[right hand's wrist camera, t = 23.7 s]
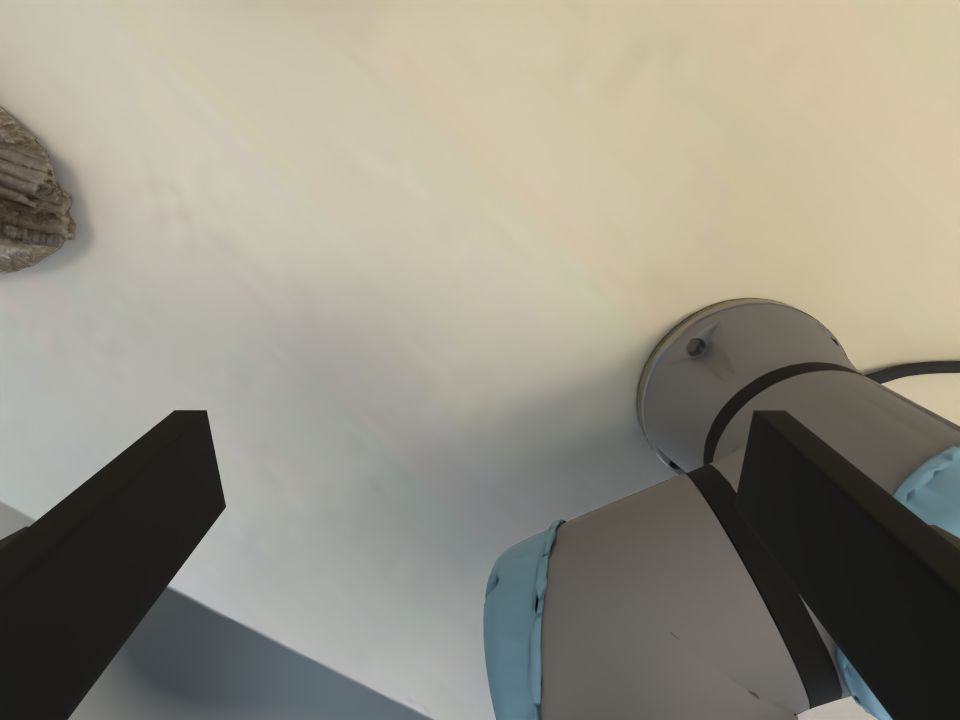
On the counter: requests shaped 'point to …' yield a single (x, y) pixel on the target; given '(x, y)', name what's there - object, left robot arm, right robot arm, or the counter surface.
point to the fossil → (29, 200)
